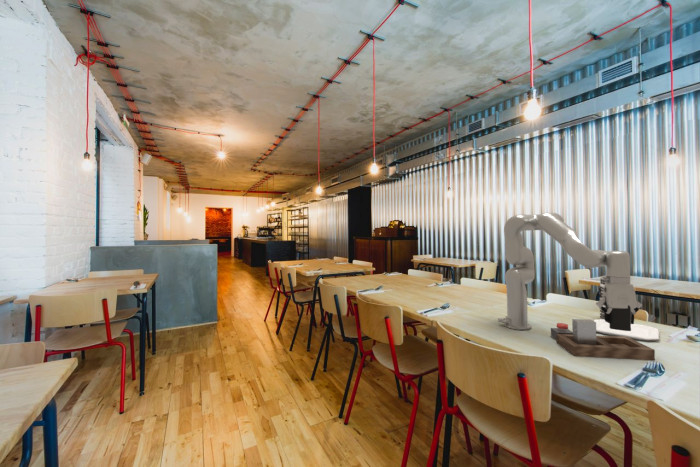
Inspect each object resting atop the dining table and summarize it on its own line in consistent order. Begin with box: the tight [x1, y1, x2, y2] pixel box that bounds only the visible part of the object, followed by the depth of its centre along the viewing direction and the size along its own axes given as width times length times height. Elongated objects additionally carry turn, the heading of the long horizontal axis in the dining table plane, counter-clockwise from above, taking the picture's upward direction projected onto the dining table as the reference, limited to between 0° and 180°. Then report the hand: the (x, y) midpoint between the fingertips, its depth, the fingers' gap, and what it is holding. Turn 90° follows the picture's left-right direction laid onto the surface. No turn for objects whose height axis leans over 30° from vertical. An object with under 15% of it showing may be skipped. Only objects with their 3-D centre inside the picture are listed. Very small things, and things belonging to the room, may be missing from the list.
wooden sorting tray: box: [555, 318, 656, 361], centre depth 128 cm, size 28×15×12 cm, turn 79°
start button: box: [556, 322, 569, 329], centre depth 142 cm, size 4×4×2 cm
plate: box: [593, 318, 660, 342], centre depth 150 cm, size 25×25×2 cm
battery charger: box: [609, 305, 631, 331], centre depth 126 cm, size 7×4×11 cm, turn 53°
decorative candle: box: [598, 275, 607, 320], centre depth 168 cm, size 9×9×25 cm
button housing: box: [550, 327, 573, 340], centre depth 142 cm, size 7×7×4 cm
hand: (619, 322), depth 126 cm, fingers closed on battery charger, 7 cm apart
